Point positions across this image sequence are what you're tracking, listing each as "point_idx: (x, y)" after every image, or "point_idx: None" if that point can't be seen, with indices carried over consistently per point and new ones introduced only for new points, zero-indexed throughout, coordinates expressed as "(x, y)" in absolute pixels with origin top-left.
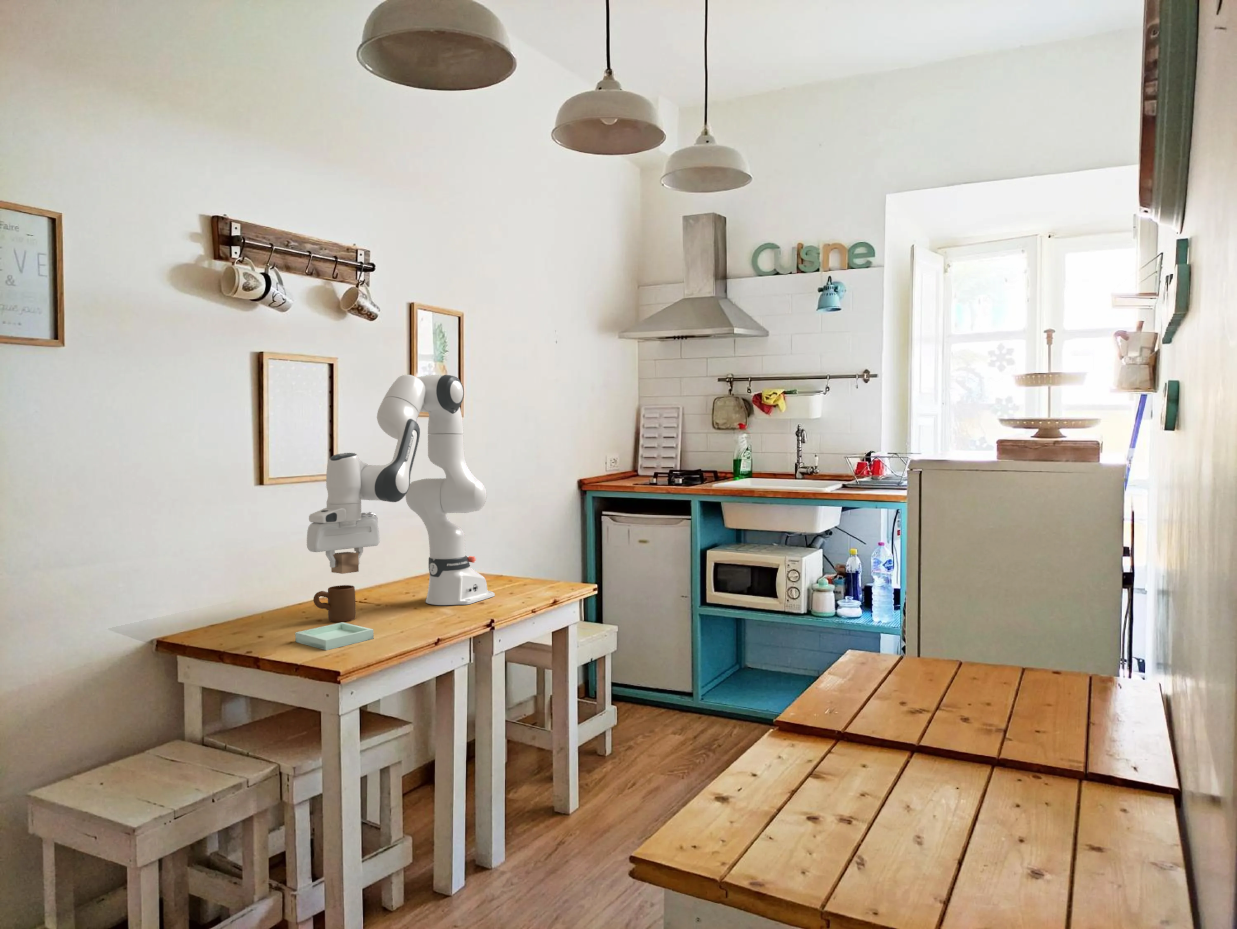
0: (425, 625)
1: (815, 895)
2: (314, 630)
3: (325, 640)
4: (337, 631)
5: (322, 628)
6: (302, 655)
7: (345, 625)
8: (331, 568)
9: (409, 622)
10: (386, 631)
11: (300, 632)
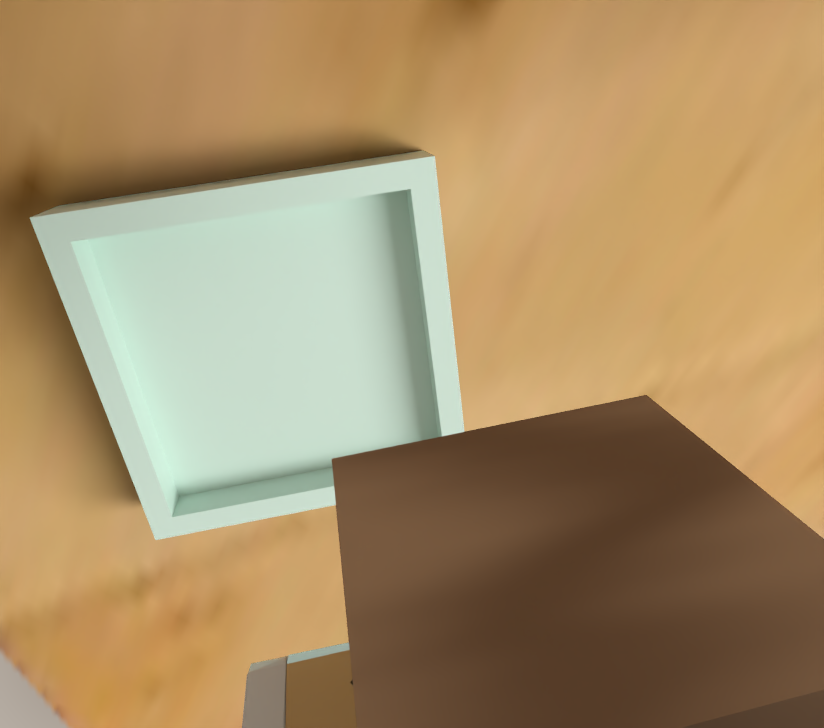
0: (796, 369)
1: None
2: (185, 222)
3: (155, 535)
4: (352, 236)
5: (251, 213)
6: (30, 517)
7: (415, 239)
8: (336, 504)
9: (809, 240)
10: (594, 348)
11: (65, 246)
